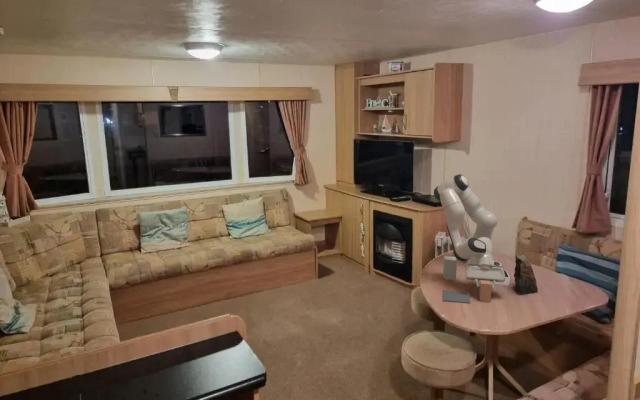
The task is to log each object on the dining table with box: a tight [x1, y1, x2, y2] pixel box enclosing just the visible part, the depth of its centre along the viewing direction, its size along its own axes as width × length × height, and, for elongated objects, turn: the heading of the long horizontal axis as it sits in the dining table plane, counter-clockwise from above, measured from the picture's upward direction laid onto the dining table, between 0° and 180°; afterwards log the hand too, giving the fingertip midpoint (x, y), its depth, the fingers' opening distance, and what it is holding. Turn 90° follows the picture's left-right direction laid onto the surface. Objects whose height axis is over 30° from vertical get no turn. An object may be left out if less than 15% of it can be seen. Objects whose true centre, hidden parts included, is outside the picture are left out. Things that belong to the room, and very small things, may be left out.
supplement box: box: [442, 255, 458, 281], centre depth 267 cm, size 7×7×13 cm
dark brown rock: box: [513, 253, 539, 296], centre depth 246 cm, size 13×13×20 cm
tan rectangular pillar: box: [478, 280, 493, 303], centre depth 236 cm, size 5×5×10 cm
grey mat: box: [442, 289, 471, 304], centre depth 241 cm, size 14×14×1 cm
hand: (485, 288), depth 236 cm, fingers closed on tan rectangular pillar, 5 cm apart
